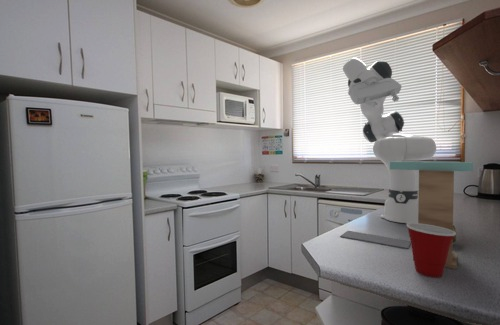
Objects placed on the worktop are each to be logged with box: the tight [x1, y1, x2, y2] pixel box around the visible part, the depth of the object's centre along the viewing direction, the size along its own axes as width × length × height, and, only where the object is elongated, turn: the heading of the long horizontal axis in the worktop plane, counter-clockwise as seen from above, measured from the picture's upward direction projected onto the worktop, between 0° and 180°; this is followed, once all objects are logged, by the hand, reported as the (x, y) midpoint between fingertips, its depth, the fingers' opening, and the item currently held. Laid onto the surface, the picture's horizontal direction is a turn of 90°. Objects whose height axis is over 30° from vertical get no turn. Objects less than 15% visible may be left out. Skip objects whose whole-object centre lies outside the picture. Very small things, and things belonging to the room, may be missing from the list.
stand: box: [412, 170, 458, 270], centre depth 79 cm, size 11×10×26 cm
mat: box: [339, 230, 411, 250], centre depth 98 cm, size 9×22×1 cm, turn 53°
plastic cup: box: [405, 223, 457, 278], centre depth 70 cm, size 11×11×12 cm
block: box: [390, 161, 474, 173], centre depth 80 cm, size 4×20×2 cm, turn 53°
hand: (386, 103), depth 108 cm, fingers open, 8 cm apart
